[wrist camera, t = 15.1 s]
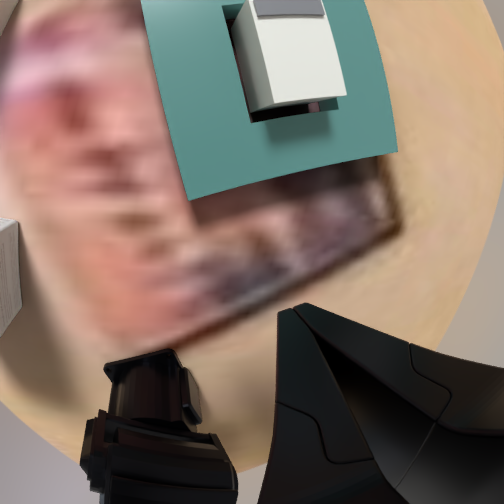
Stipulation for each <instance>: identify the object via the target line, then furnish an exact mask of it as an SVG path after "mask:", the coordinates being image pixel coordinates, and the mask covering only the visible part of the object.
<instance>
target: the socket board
mask: <svg viewBox="0 0 504 504" xmlns="http://www.w3.org/2000/svg"><path fill="white" fill-rule="evenodd" d="M245 1H246V0H141V4H142V9H143V14H144V20H145V25H146V30H147V35H148V40H149V45H150V50H151V54H152V59H153V64H154V68H155V73H156V77H157V82H158V86H159V90H160V95H161V99H162V103H163V107H164V111H165V115H166V119H167V123H168V127H169V131H170V135H171V139H172V143H173V147H174V151H175V154H176V158H177V162H178V165H179V169H180V173H181V176H182V180H183V184H184V187H185V191H186V194H187V198H188V201H190V200H193V199H196V198H200V197H203V196H207V195H210V194H214V193H217V192H221V191H224V190H228V189H232V188H235V187H239V186H243V185H246V184H250V183H254V182H258V181H262V180H266V179H270V178H274V177H278V176H282V175H286V174H290V173H295V172H299V171H303V170H308V169H312V168H317V167H321V166H326V165H331V164H336V163H340V162H345V161H350V160H355V159H361V158H366V157H371V156H377V155H383V154H388V153H394V152H398V148H397V139H396V132H395V125H394V118H393V112H392V106H391V101H390V95H389V90H388V85H387V81H386V76H385V72H384V67H383V63H382V59H381V55H380V51H379V47H378V44H377V40H376V36H375V33H374V30H373V26H372V23H371V20H370V17H369V14H368V11H367V8H366V5H365V2H364V0H322V2H323V5H324V9H325V12H326V15H327V18H328V21H329V25H330V28H331V32H332V35H333V39H334V43H335V46H336V50H337V54H338V58H339V62H340V66H341V70H342V75H343V79H344V84H345V89H346V93H347V95H346V96H341V97H336V98H331V99H326V100H322V101H318V102H319V107H320V112H314V113H307V114H300V115H294V116H288V117H282V118H276V119H271V120H266V121H260V122H255V123H250V119H249V114H248V110H247V106H246V101H245V97H244V93H243V89H242V85H241V81H240V77H239V72H238V68H237V64H236V60H235V56H234V52H233V48H232V44H231V41H230V37H229V33H228V29H227V25H226V21H225V20H228V19H236V17H237V16H238V14H239V12H240V10H241V8H242V6H243V4H244V2H245Z"/></svg>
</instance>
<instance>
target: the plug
mask: <svg viewBox="0 0 504 504" xmlns="http://www.w3.org/2000/svg"><path fill="white" fill-rule="evenodd" d="M230 30H231V34H232V38H233V42H234V46H235V50H236V54H237V58H238V62H239V67H240V71H241V75H242V79H243V84H244V88H245V92H246V97H247V101H248V105H249V110H250V113H251V112H257V111H262V110H268V109H274V108H280V107H287V106H294V105H302V104H309V103H313V102H318V101H322V100H326V99H331V98H336V97H341V96H346V95H347V93H346V89H345V84H344V79H343V75H342V70H341V66H340V62H339V58H338V54H337V50H336V46H335V43H334V39H333V35H332V32H331V28H330V25H329V21H328V18H327V15H326V12H325V9H324V5H323V2H322V0H246V1H245V2H244V4H243V6H242V8H241V10H240V12H239V14H238V16H237V17H236V19H235V21H234V23H233V25H232V27H231V29H230Z"/></svg>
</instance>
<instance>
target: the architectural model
mask: <svg viewBox="0 0 504 504" xmlns="http://www.w3.org/2000/svg"><path fill="white" fill-rule="evenodd" d="M18 1H19V0H0V37H1V35H2V32H3V30H4V28H5V26H6V24H7V22H8V20H9V18H10V16H11V14H12V12H13V10H14V8H15V7H16V5H17V3H18Z"/></svg>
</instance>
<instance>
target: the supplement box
mask: <svg viewBox="0 0 504 504" xmlns="http://www.w3.org/2000/svg"><path fill="white" fill-rule="evenodd" d="M21 308H22V299H21V288H20V275H19V255H18V221H17V220H12V219H5V218H0V337H1V336H2V335H3V333H4V332H5V330H6V329H7V327H8V326H9V324H10V323H11V322H12V320H13V319H14V317H15V316H16V315H17V313H18V312H19V310H20V309H21Z"/></svg>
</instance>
